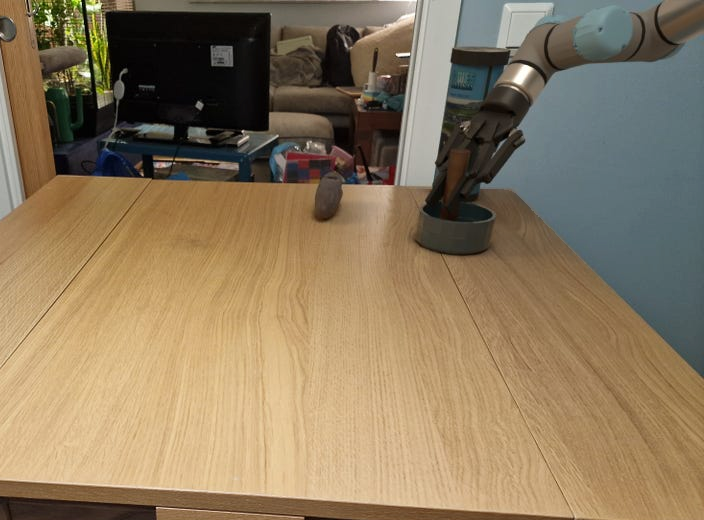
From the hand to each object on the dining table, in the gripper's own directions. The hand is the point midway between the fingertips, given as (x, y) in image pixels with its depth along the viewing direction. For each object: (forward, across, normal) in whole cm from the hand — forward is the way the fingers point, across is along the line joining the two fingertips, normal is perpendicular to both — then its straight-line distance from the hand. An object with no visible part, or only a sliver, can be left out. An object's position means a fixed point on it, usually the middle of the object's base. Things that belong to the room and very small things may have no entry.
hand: (438, 207), depth 116 cm
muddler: (+1, 0, -6) cm, 6 cm away
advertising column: (-17, +17, -28) cm, 37 cm away
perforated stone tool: (+6, +26, -5) cm, 27 cm away
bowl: (+2, -1, -9) cm, 9 cm away
